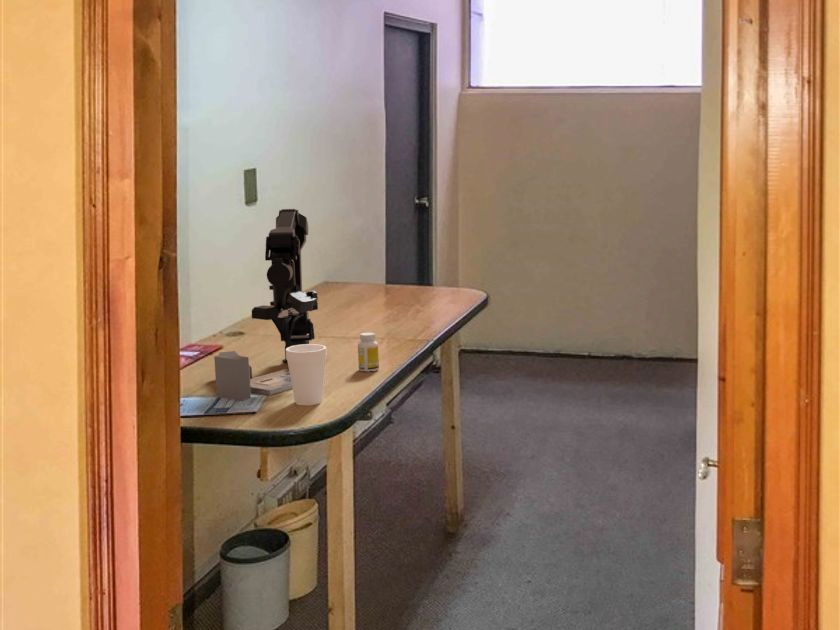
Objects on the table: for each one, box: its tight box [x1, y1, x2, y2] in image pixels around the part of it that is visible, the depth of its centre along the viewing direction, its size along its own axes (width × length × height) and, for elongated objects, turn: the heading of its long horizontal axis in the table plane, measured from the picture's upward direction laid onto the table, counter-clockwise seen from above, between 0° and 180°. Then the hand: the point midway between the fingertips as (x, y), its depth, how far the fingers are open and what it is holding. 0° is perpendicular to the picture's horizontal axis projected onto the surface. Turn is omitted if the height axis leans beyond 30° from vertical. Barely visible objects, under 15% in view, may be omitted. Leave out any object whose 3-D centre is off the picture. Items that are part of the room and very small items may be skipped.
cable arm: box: [218, 350, 253, 394], centre depth 264 cm, size 22×4×7 cm, turn 21°
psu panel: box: [250, 368, 293, 396], centre depth 265 cm, size 18×13×2 cm
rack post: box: [213, 354, 252, 402], centre depth 252 cm, size 4×8×10 cm, turn 53°
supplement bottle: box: [357, 332, 380, 373], centre depth 277 cm, size 5×5×10 cm
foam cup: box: [286, 343, 328, 406], centre depth 246 cm, size 10×9×13 cm
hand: (286, 341), depth 266 cm, fingers closed
